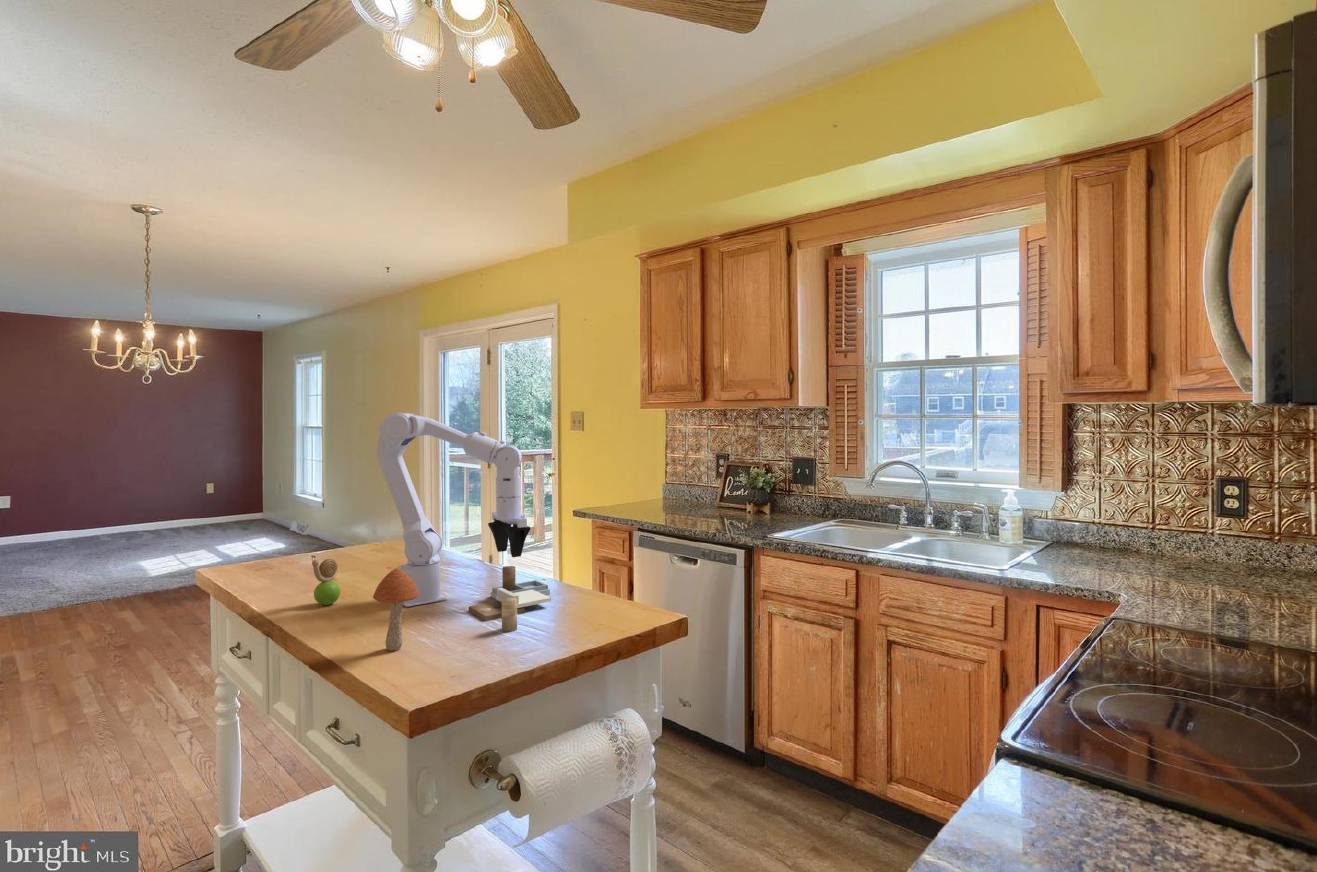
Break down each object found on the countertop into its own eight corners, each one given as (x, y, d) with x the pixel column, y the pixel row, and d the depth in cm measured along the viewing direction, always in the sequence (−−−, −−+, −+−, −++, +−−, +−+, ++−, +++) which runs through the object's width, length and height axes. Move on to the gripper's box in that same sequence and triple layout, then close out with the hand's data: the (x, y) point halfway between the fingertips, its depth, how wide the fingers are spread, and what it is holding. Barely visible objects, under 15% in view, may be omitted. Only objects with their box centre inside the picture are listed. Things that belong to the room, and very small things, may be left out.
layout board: (485, 620, 135) (485, 615, 135) (468, 610, 142) (468, 606, 142) (524, 612, 141) (524, 607, 141) (506, 603, 148) (506, 598, 148)
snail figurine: (304, 607, 145) (303, 554, 144) (328, 600, 151) (327, 549, 150) (322, 610, 143) (321, 556, 142) (346, 602, 149) (345, 550, 148)
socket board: (503, 603, 148) (503, 593, 148) (490, 596, 153) (490, 587, 153) (549, 594, 155) (549, 585, 155) (535, 588, 161) (535, 579, 161)
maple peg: (505, 632, 128) (505, 602, 127) (499, 628, 130) (499, 599, 130) (519, 629, 129) (519, 600, 129) (513, 625, 132) (512, 596, 132)
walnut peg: (508, 595, 150) (508, 569, 150) (499, 592, 152) (499, 567, 152) (518, 592, 153) (518, 567, 152) (509, 590, 154) (509, 565, 154)
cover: (514, 608, 139) (514, 596, 139) (496, 599, 146) (496, 588, 146) (551, 601, 145) (550, 589, 145) (532, 592, 152) (531, 581, 152)
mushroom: (429, 643, 121) (428, 564, 121) (399, 658, 114) (398, 574, 113) (395, 639, 124) (394, 561, 124) (363, 653, 116) (362, 571, 116)
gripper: (538, 498, 149) (539, 556, 149) (510, 492, 160) (510, 546, 160) (510, 500, 144) (510, 560, 145) (483, 494, 156) (484, 550, 156)
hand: (509, 553), depth 152 cm, fingers open, 7 cm apart
